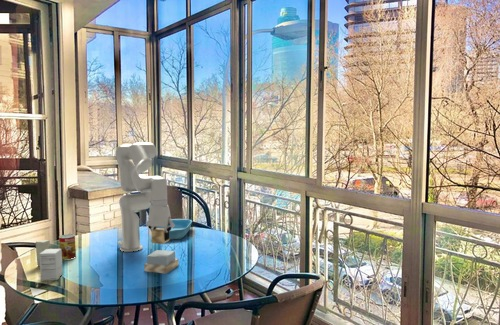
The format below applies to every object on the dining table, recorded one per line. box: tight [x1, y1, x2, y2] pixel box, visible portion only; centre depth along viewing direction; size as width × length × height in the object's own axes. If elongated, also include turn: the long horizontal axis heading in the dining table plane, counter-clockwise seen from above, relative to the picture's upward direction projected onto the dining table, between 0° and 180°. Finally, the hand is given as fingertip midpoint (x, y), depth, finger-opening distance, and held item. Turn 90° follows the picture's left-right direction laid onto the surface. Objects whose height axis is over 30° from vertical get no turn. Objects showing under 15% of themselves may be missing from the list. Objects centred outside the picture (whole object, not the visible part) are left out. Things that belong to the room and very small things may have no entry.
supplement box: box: [39, 248, 64, 282], centre depth 184 cm, size 7×7×13 cm
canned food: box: [58, 233, 77, 260], centre depth 213 cm, size 8×8×12 cm
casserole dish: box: [156, 218, 193, 240], centre depth 262 cm, size 37×22×7 cm, turn 179°
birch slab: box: [143, 257, 180, 275], centre depth 196 cm, size 12×12×4 cm
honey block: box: [151, 228, 170, 245], centre depth 194 cm, size 6×6×6 cm
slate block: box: [146, 249, 176, 266], centre depth 195 cm, size 10×10×4 cm
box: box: [35, 239, 51, 267], centre depth 201 cm, size 5×4×13 cm
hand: (160, 239), depth 194 cm, fingers closed on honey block, 6 cm apart
